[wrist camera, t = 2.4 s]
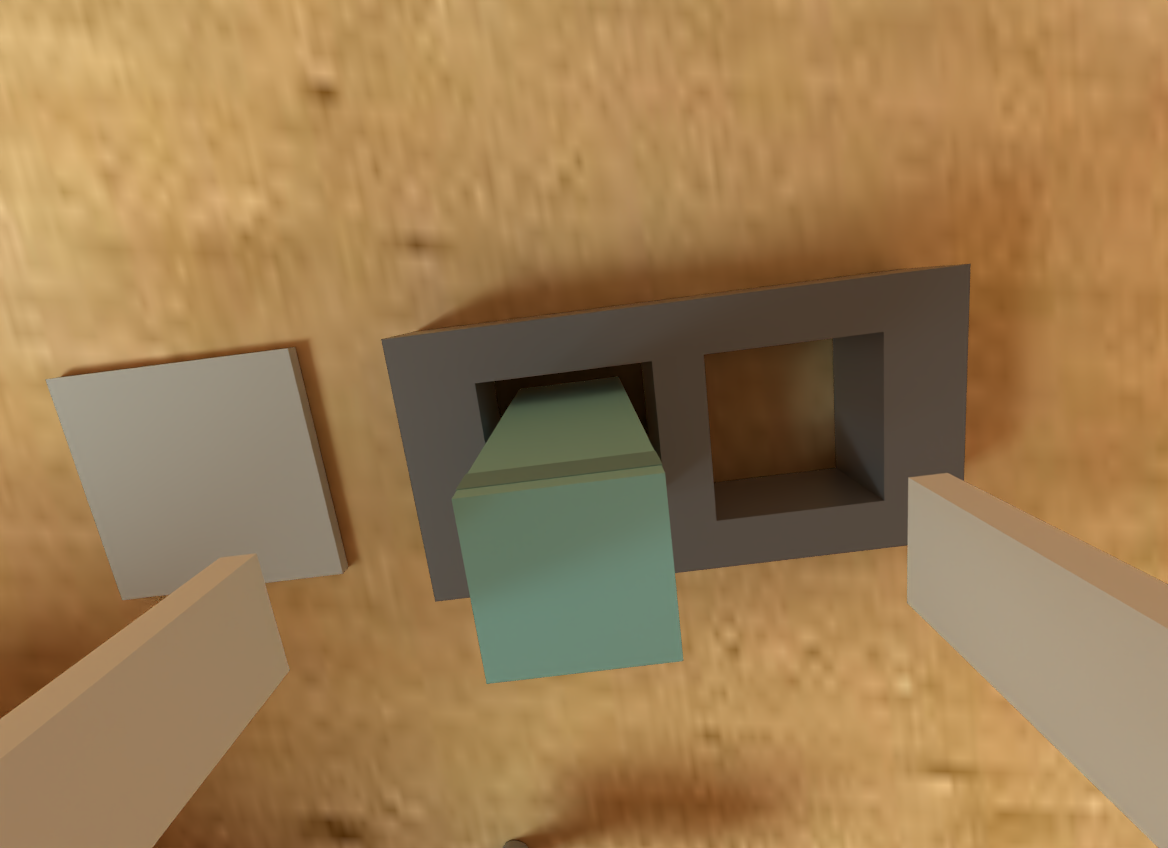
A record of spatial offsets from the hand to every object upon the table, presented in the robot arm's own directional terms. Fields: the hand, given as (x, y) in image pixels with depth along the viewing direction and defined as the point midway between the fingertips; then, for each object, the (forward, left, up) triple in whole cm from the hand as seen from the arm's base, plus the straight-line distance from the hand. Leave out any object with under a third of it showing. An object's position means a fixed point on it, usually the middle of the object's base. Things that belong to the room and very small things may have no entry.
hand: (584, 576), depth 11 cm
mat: (-16, 0, -13) cm, 21 cm away
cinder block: (+4, 0, -13) cm, 14 cm away
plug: (0, 0, -13) cm, 13 cm away
